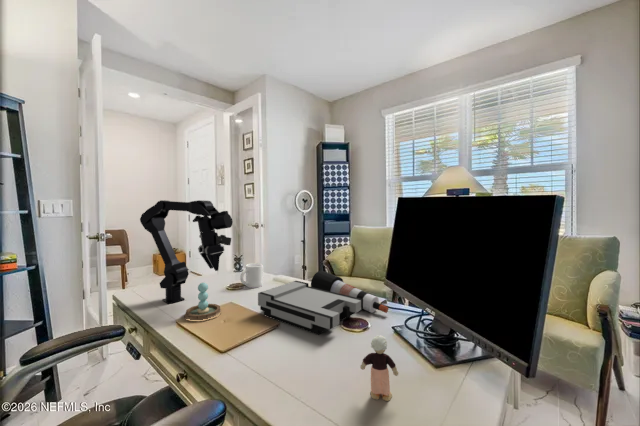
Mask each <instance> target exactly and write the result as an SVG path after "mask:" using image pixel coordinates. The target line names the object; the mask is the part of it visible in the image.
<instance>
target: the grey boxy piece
mask: <svg viewBox="0 0 640 426" xmlns="http://www.w3.org/2000/svg"><path fill="white" fill-rule="evenodd" d="M257 306H259V307H260V308H259V309H260V311H263V316H265V315H266V316H265V317H267V316H268V318H270V317H271V319H273V318H274V319H273V320H276V321H278V320H279V322H281V323H284V324H287V325H290V326H292V327H295V328H298V329H301V330H304V331H306V332H309V333H310V334H311V333H312V334H315V335H317V336H319V335H320V334H322V333H326V332H328V331H329V330H331V329H333V328H335V327H336V326H338V325H340V321H343V320H344V319H348V318H349V317H351V316H353V315H355V314H357V313H358V312H360V311H361V310H364V309H363V299H360V298H356V297H351V296H347V295H343V294H339V293H334V292H330V291H326V290H322V289H318V288H313V287H311V286H309V282H304V281H299V280H293V281H291V282H288V283H285V284H281V285H278V286H275V287H272V288H270V289H266V290H263V291H259V292H258V293H257Z"/></svg>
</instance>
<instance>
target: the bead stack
mask: <svg viewBox="0 0 640 426" xmlns="http://www.w3.org/2000/svg"><path fill="white" fill-rule="evenodd" d="M208 289H209V286H208V283H206V282H201V283H199V284H198V285H197V290H198V291H199V293H198V295H197V299H198V300H199V302H198V304H197V305H198V307H199V309H198V314H205V313H208V312H209V308H208V304H209V301H207V299H208V298H209V293H208V292H207V290H208Z"/></svg>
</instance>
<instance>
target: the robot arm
mask: <svg viewBox="0 0 640 426" xmlns="http://www.w3.org/2000/svg"><path fill="white" fill-rule="evenodd" d="M170 211H176V212H177V211H179V212H188V213H190V214H193V215H195V217H194V218H193V219H192V223H197V224H198V230H199V236H198V237H199V238H200V243H201V245H199V247H198V248H197V250H198V253H199V254H200V256H201V258H203V260H204V262H205V263H206V265H207V266H208V268H209V269H210V270H211V269H213V270H215V272H218V271H219V268H220V266H219V265H220V264H219V263H220V257H221V255H222V254H224V251H225V246H231V243H232V237H227V236H226V234H220V235H219V234H218V233H217V232H216V230H223V229H230V228H232V226H233V222H234V221H233V218H232V216H231V214H229V211H228V210H222V211H219V210H218V209H216V207H215V206H214V203H212V201H211V200H192V201H189V202H188V201H186V202H185V201H173V200H172V201H171V200H166V199H165V200H161V199H160V200H159V201H157V202H156V203H155V204H153V206H151V207H149V208H148V209H147V210H146V209H145V211H144V212H142V214H140V215H141V216H140V218H139V221H140V223H141V225H142V227H143V228H144V230H146V231H147V232H149V234H151V236H152V238H153V241H154V243H155V245H156V247H157V250H158V252H159V254H160V257H161V259H162V261H163V263H164V270H163V274H164V278H162V280H161V281H160V282H159V287H160V289H165V298H162V301H163V302H164V303H165V304H168V305H169V304H173V303H177V302H181V301H184V300H185V298H184V297H183V296H182V285H183V284H184V285H185V283H186V282H187V279H188V277H189V268H188V266H187V264H186V262H185V261H179V259H178V258H177V255H176V253H175V249H173V246H172V244H171V241H170V240H169V237H168V235H167V232H166V231H165V226H166V221H165V219H166V218H167V217H168V216H169V212H170ZM224 245H225V246H224Z"/></svg>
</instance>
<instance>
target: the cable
mask: <svg viewBox="0 0 640 426" xmlns="http://www.w3.org/2000/svg"><path fill="white" fill-rule="evenodd" d="M310 287H313V288H318V289H322V290H326V291H330V292H334V293H339V294H343V295H347V296H351V297H356V298H360V299H363V309H362V310H364V311H367V312H369V313H371V314H372V313H375V312H376V310H377V311H380V312H384V313H385V314H387V313H388V312H389V307H388V306H386V305H384V304H381V303H379V301H380V300H379V298H378V296H375V295H373V294H370V293H368V292H365V291H364V290H363V289H362V290H361V289H359V288H357V287H356V286H354V285H350V284H349V283H346V282H345V281H344V280H343V278H342V277H340V276H337V275H335V274H332V273H330V272H327V271H324V270H318V271H316V272H315V273H314V275H313V276H312V278H311V281H310Z"/></svg>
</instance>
